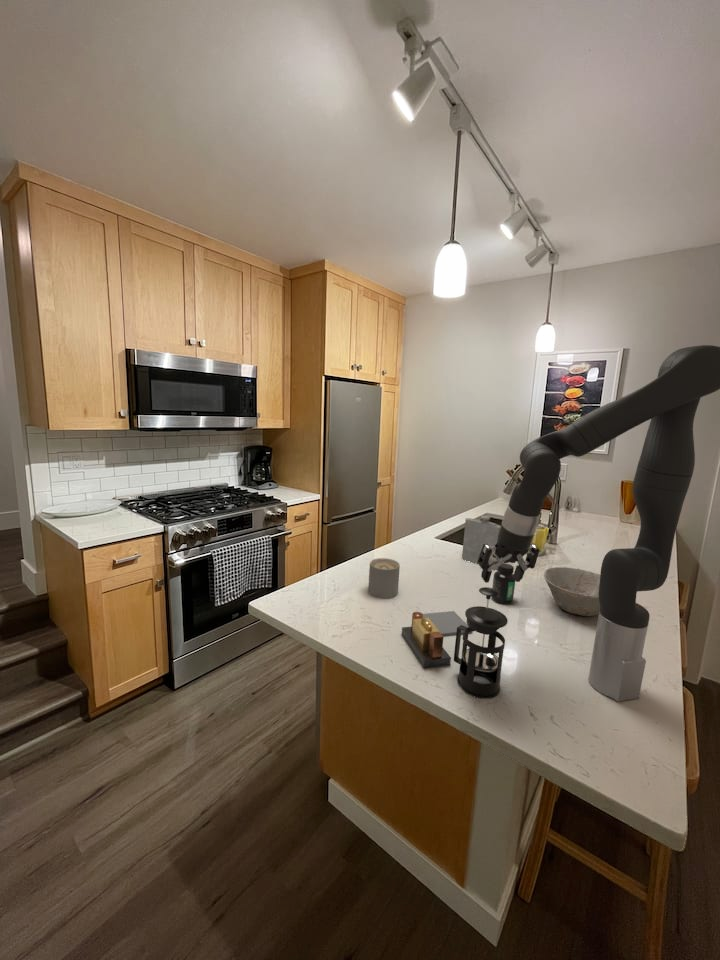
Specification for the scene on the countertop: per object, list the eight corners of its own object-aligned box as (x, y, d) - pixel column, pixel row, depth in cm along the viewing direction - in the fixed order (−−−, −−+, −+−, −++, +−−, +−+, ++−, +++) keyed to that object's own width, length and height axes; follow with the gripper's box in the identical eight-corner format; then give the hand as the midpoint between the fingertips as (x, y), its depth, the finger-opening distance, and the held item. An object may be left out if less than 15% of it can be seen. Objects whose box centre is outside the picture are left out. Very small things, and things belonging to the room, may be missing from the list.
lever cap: (438, 648, 102) (440, 628, 101) (422, 650, 101) (424, 629, 100) (427, 633, 109) (428, 614, 108) (412, 634, 108) (413, 615, 107)
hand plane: (450, 664, 99) (452, 636, 98) (423, 668, 97) (426, 639, 96) (425, 631, 113) (427, 606, 112) (401, 634, 112) (403, 608, 110)
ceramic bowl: (604, 599, 139) (609, 572, 137) (629, 635, 117) (634, 602, 115) (535, 589, 145) (538, 562, 143) (545, 620, 123) (550, 589, 121)
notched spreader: (460, 559, 170) (464, 513, 166) (465, 557, 173) (469, 511, 169) (496, 571, 159) (502, 522, 156) (501, 568, 162) (506, 520, 158)
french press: (510, 687, 92) (522, 592, 88) (489, 707, 86) (502, 606, 81) (464, 662, 100) (474, 575, 96) (442, 679, 94) (451, 585, 90)
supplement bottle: (514, 606, 131) (518, 571, 129) (492, 603, 132) (496, 568, 130) (511, 596, 138) (515, 563, 135) (490, 594, 139) (493, 560, 137)
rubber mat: (472, 633, 114) (472, 630, 114) (436, 636, 111) (436, 634, 111) (453, 613, 124) (454, 611, 124) (420, 616, 121) (420, 614, 121)
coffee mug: (383, 601, 130) (385, 572, 128) (362, 590, 137) (363, 562, 135) (410, 590, 139) (412, 562, 137) (389, 580, 146) (390, 553, 144)
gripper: (498, 534, 91) (480, 591, 98) (555, 534, 93) (534, 589, 100) (483, 517, 97) (468, 571, 104) (537, 517, 100) (518, 570, 107)
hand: (500, 580), depth 102 cm, fingers open, 8 cm apart
